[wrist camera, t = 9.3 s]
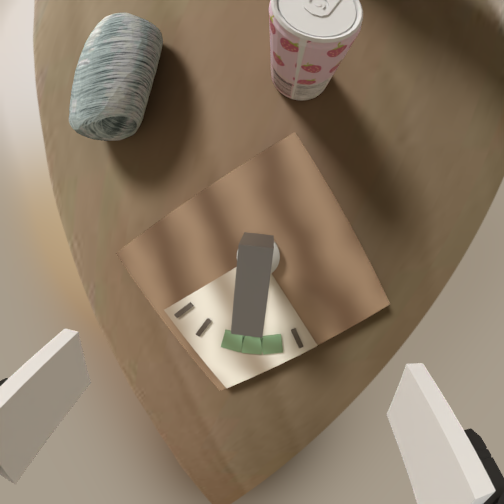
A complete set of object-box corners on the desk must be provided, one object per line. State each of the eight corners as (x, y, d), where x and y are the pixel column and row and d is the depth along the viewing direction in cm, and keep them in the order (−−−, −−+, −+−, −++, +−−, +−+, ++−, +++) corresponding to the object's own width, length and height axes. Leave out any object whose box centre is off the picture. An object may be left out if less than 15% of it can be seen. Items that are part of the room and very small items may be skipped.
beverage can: (329, 56, 26) (366, -20, 12) (325, 105, 28) (366, 53, 13) (274, 48, 27) (272, -35, 12) (268, 97, 28) (262, 36, 14)
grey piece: (241, 218, 29) (224, 242, 20) (283, 223, 29) (288, 250, 19) (231, 325, 32) (214, 384, 22) (269, 330, 32) (266, 390, 22)
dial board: (293, 134, 29) (295, 131, 27) (384, 297, 32) (391, 305, 30) (123, 248, 33) (114, 254, 31) (222, 380, 37) (219, 392, 34)
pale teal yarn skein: (150, 158, 27) (66, 116, 18) (100, 150, 32) (31, 120, 23) (204, 45, 27) (145, -13, 18) (147, 54, 31) (92, 13, 22)
